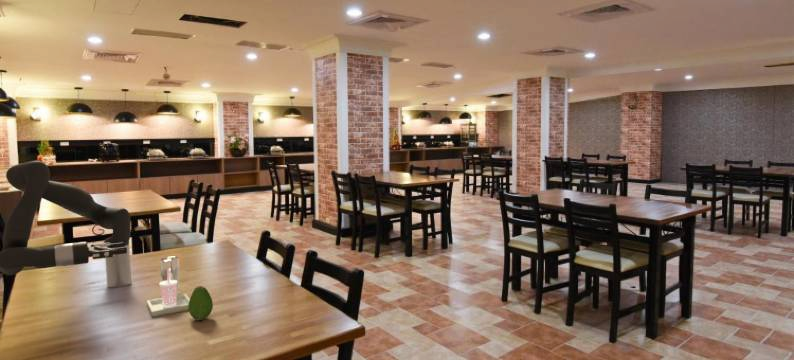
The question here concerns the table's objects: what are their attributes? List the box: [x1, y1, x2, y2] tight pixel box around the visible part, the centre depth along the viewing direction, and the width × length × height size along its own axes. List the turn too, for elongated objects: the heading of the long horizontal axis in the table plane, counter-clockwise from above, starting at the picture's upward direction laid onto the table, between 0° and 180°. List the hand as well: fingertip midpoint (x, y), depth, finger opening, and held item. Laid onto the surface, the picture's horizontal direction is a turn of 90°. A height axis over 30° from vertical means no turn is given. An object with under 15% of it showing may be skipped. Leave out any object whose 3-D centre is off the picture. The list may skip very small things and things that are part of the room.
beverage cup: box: [158, 269, 177, 308], centre depth 184 cm, size 6×6×14 cm
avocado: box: [187, 285, 214, 321], centre depth 172 cm, size 8×8×12 cm
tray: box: [145, 293, 191, 318], centre depth 184 cm, size 14×14×2 cm
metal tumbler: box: [159, 255, 181, 295], centre depth 198 cm, size 7×7×15 cm
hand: (125, 247), depth 177 cm, fingers open, 8 cm apart
